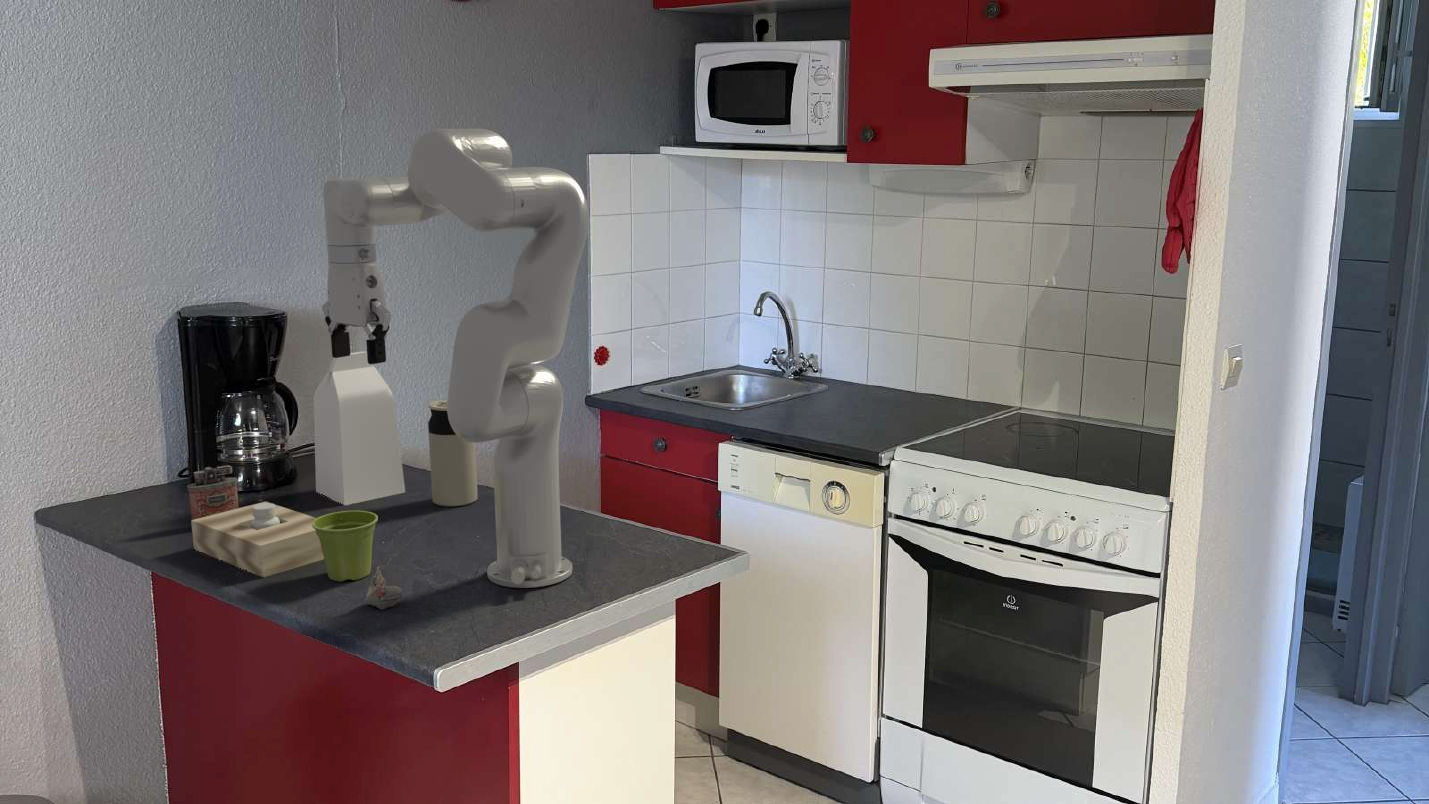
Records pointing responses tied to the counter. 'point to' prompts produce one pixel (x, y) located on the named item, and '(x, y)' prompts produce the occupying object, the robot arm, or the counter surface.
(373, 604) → the figurine
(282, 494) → the counter surface
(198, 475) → the lighter
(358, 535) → the plant pot
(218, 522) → the hole block
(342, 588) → the counter surface
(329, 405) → the milk
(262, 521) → the pill bottle
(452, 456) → the travel mug
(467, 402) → the robot arm
